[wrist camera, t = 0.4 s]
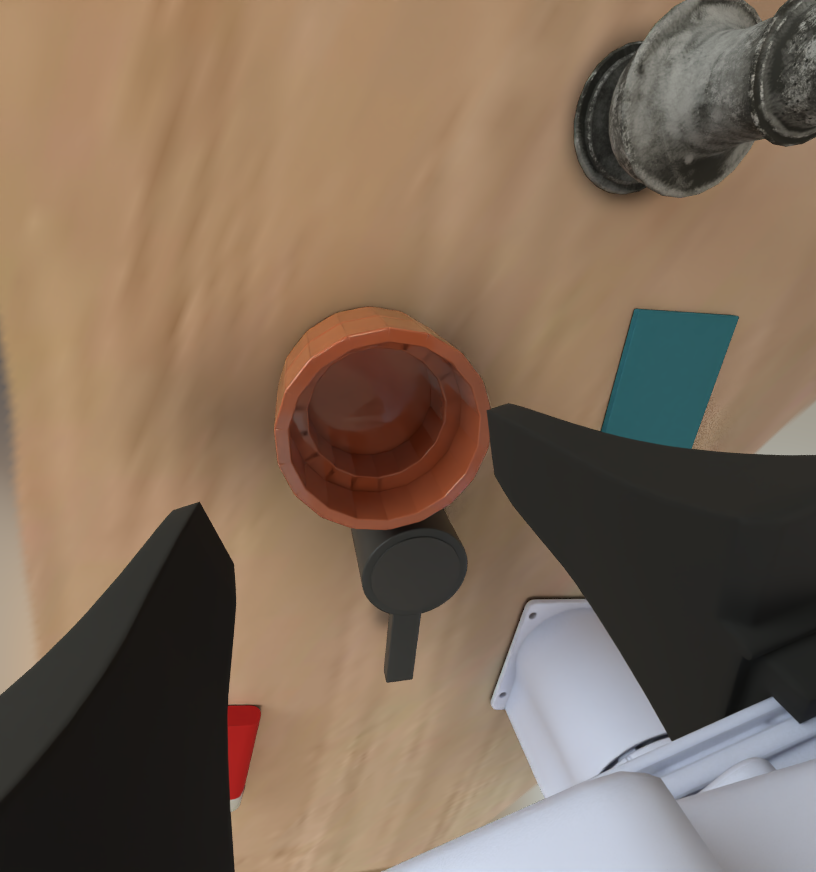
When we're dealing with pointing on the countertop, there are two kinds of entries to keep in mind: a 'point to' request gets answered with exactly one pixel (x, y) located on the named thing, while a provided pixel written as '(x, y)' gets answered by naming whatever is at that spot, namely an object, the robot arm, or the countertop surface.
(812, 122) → the grey tall lumpy piece
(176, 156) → the countertop surface
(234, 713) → the lighter
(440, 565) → the scoop
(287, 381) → the bowl
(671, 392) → the cloth
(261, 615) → the countertop surface
